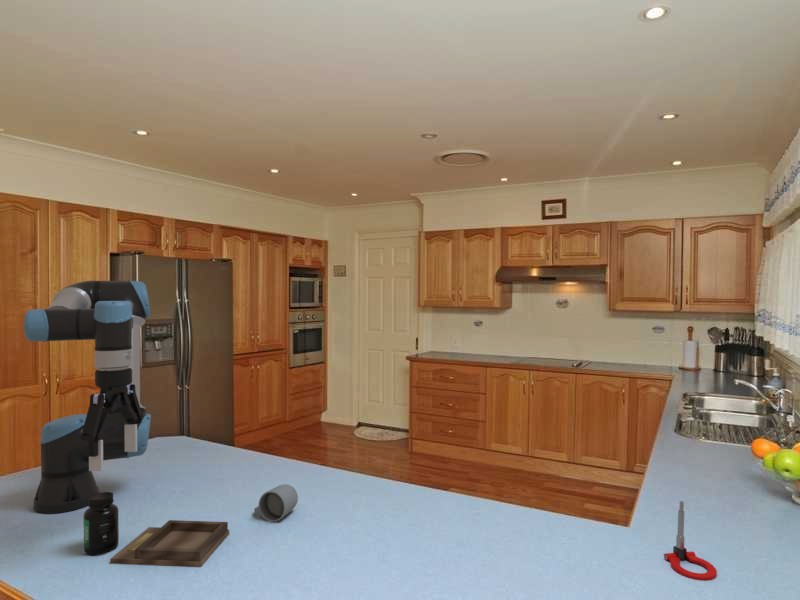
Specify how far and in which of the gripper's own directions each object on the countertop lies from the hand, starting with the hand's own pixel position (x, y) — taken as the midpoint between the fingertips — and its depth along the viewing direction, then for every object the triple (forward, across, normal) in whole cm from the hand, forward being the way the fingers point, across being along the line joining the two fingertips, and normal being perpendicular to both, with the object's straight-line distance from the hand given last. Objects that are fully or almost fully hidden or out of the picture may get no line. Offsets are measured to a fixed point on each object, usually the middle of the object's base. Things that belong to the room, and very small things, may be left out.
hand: (114, 460), depth 120 cm
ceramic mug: (+20, +17, -32) cm, 41 cm away
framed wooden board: (+19, -1, -14) cm, 24 cm away
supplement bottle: (+20, -2, +2) cm, 20 cm away
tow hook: (+20, -5, -127) cm, 129 cm away
